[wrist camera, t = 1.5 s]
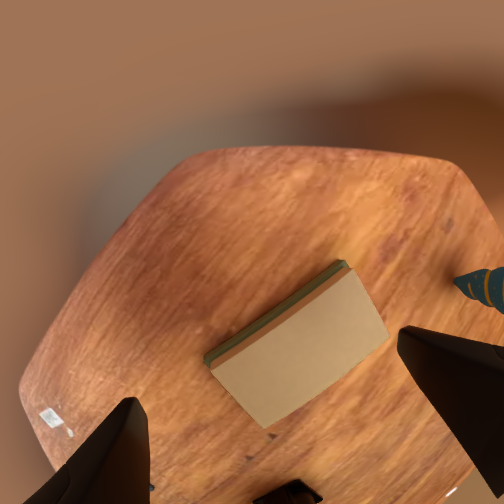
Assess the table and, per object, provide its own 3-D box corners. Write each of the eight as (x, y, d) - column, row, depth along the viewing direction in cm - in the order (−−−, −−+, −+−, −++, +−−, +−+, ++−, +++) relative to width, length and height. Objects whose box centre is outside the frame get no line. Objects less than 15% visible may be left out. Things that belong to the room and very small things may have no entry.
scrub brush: (378, 328, 25) (395, 336, 22) (257, 416, 23) (262, 435, 20) (338, 259, 24) (354, 260, 21) (203, 355, 23) (202, 370, 20)
